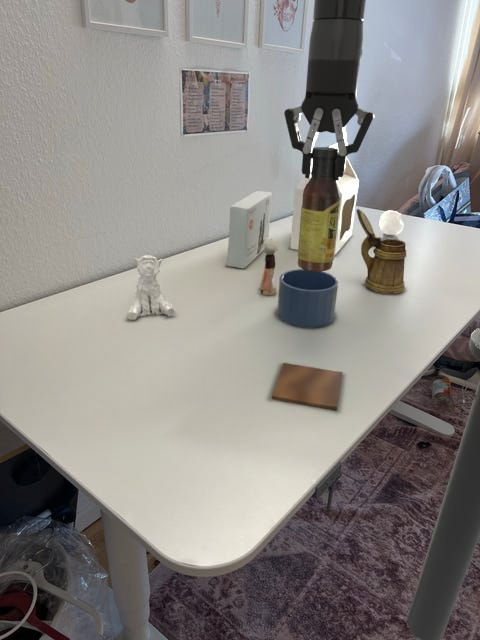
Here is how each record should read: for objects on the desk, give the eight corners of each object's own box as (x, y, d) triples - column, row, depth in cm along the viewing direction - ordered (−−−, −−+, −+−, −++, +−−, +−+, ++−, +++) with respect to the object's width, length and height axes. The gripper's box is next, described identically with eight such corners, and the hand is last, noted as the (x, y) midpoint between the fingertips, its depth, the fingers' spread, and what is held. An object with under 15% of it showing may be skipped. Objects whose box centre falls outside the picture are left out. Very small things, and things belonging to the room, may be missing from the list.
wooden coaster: (341, 374, 81) (341, 371, 80) (336, 410, 72) (337, 407, 72) (283, 365, 83) (283, 362, 83) (271, 398, 74) (271, 395, 74)
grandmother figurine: (256, 286, 114) (258, 234, 108) (271, 285, 114) (274, 233, 109) (264, 299, 107) (266, 245, 101) (280, 298, 108) (284, 244, 102)
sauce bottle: (332, 275, 81) (346, 151, 72) (295, 272, 82) (304, 150, 73) (333, 262, 87) (346, 146, 77) (298, 259, 88) (307, 144, 79)
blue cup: (336, 306, 105) (340, 272, 101) (331, 331, 94) (335, 294, 91) (282, 299, 107) (285, 266, 104) (272, 323, 97) (274, 286, 93)
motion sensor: (401, 239, 149) (406, 215, 146) (376, 236, 151) (380, 212, 148) (401, 232, 156) (405, 208, 153) (377, 230, 158) (381, 206, 155)
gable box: (311, 229, 157) (320, 139, 144) (351, 235, 152) (364, 142, 139) (289, 249, 138) (297, 147, 126) (334, 256, 134) (347, 151, 121)
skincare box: (246, 269, 123) (248, 208, 116) (226, 266, 125) (227, 206, 117) (270, 246, 141) (273, 191, 134) (252, 243, 142) (254, 189, 135)
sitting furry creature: (127, 321, 96) (122, 265, 91) (125, 303, 103) (120, 250, 98) (174, 317, 98) (172, 261, 93) (168, 299, 106) (166, 247, 100)
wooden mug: (350, 274, 122) (359, 204, 113) (405, 283, 117) (419, 210, 109) (343, 287, 114) (353, 212, 106) (402, 297, 110) (417, 220, 102)
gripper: (281, 56, 68) (274, 179, 76) (384, 57, 65) (366, 186, 72) (290, 58, 74) (283, 171, 82) (385, 59, 71) (368, 177, 79)
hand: (322, 178), depth 77 cm, fingers closed on sauce bottle, 4 cm apart
